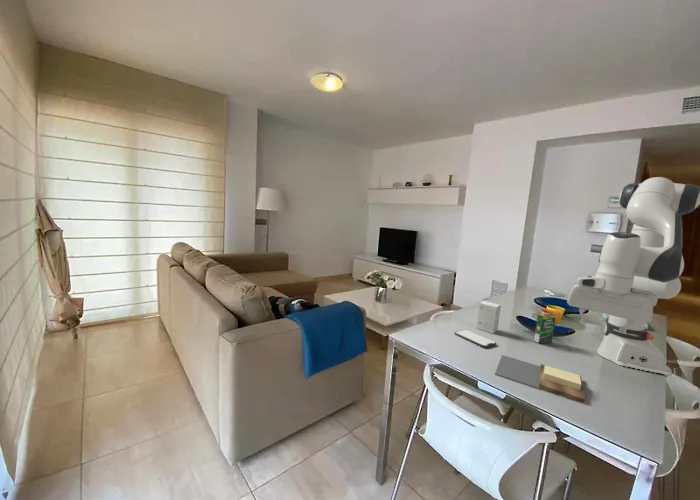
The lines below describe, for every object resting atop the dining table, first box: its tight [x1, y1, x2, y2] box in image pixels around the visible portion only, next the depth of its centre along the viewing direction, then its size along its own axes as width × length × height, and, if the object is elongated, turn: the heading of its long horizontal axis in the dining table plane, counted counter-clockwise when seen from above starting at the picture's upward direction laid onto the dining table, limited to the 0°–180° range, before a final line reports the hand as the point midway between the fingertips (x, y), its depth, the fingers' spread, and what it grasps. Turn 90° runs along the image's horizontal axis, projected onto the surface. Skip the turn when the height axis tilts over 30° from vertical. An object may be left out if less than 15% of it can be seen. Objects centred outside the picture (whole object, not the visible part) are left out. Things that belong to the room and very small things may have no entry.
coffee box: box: [533, 312, 557, 345], centre depth 137 cm, size 8×3×13 cm, turn 107°
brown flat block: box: [539, 364, 586, 404], centre depth 103 cm, size 12×17×2 cm
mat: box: [494, 354, 543, 391], centre depth 109 cm, size 14×18×1 cm
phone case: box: [454, 329, 497, 350], centre depth 135 cm, size 9×2×16 cm
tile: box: [543, 364, 581, 390], centre depth 103 cm, size 10×7×2 cm
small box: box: [475, 300, 502, 334], centre depth 147 cm, size 8×6×13 cm
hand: (602, 327), depth 96 cm, fingers open, 8 cm apart
